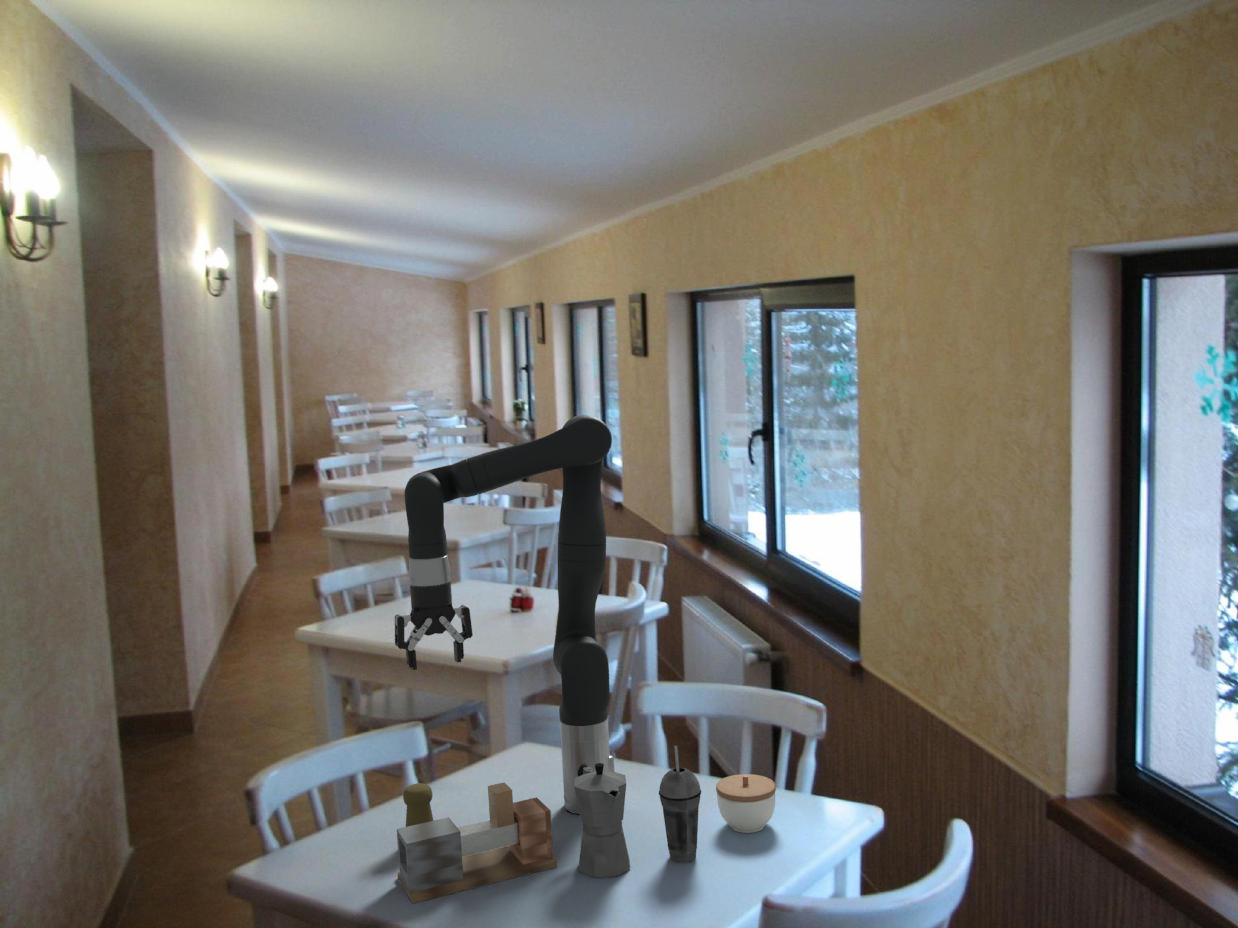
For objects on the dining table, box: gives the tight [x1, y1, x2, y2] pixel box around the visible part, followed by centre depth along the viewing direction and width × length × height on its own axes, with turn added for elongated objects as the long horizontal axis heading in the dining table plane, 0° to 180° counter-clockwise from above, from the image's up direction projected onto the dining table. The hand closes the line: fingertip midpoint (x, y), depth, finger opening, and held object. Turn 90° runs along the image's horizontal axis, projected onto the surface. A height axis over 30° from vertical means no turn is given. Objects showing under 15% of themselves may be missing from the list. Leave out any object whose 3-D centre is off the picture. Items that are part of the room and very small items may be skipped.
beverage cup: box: [658, 745, 702, 864], centre depth 189 cm, size 7×7×20 cm
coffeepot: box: [574, 763, 631, 879], centre depth 188 cm, size 15×9×18 cm, turn 25°
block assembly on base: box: [396, 796, 558, 904], centre depth 188 cm, size 25×10×9 cm, turn 115°
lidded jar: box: [715, 773, 777, 834], centre depth 201 cm, size 11×11×9 cm
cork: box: [402, 782, 435, 827], centre depth 200 cm, size 6×6×11 cm
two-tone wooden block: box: [457, 781, 520, 857], centre depth 188 cm, size 17×4×10 cm, turn 115°
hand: (435, 665), depth 207 cm, fingers open, 8 cm apart
